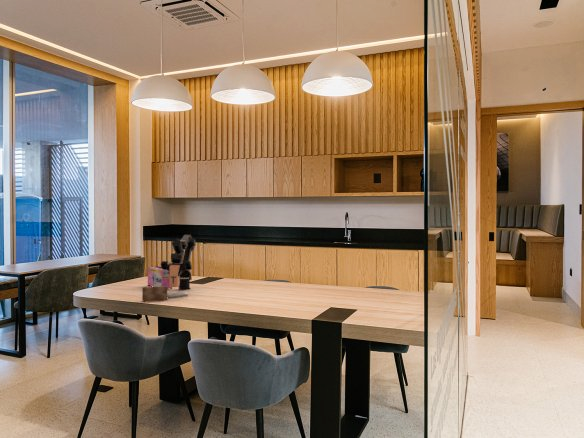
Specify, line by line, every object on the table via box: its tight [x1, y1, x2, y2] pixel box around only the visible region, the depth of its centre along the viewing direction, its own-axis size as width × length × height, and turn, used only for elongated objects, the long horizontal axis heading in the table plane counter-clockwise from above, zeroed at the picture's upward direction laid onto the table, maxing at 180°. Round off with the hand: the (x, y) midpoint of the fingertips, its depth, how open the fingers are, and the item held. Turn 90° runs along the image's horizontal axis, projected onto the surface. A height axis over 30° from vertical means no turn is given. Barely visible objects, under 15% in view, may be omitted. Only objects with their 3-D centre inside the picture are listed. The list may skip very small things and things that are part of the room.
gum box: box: [147, 265, 173, 290], centre depth 317 cm, size 24×8×14 cm, turn 43°
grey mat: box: [167, 291, 189, 299], centre depth 283 cm, size 12×12×1 cm
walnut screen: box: [141, 286, 168, 303], centre depth 268 cm, size 14×5×8 cm, turn 107°
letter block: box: [169, 265, 180, 288], centre depth 283 cm, size 5×5×13 cm
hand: (174, 276), depth 282 cm, fingers closed on letter block, 5 cm apart
